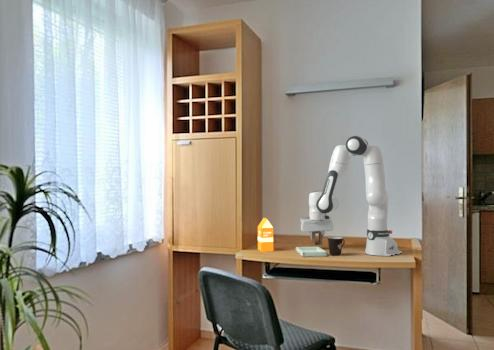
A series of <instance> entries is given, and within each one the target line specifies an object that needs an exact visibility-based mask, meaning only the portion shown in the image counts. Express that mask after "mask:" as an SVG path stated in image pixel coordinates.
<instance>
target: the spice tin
mask: <svg viewBox="0 0 494 350" xmlns="http://www.w3.org/2000/svg"><path fill="white" fill-rule="evenodd" d="M316 234H318V240H319V242H316V239H317V238H316ZM322 234H323V233H322V231H316V232H312V233H311V235H312V236H313V238H314V239H311V242H312V245H313V246H322V245H323V238H322ZM316 243H317V244H316Z"/></svg>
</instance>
